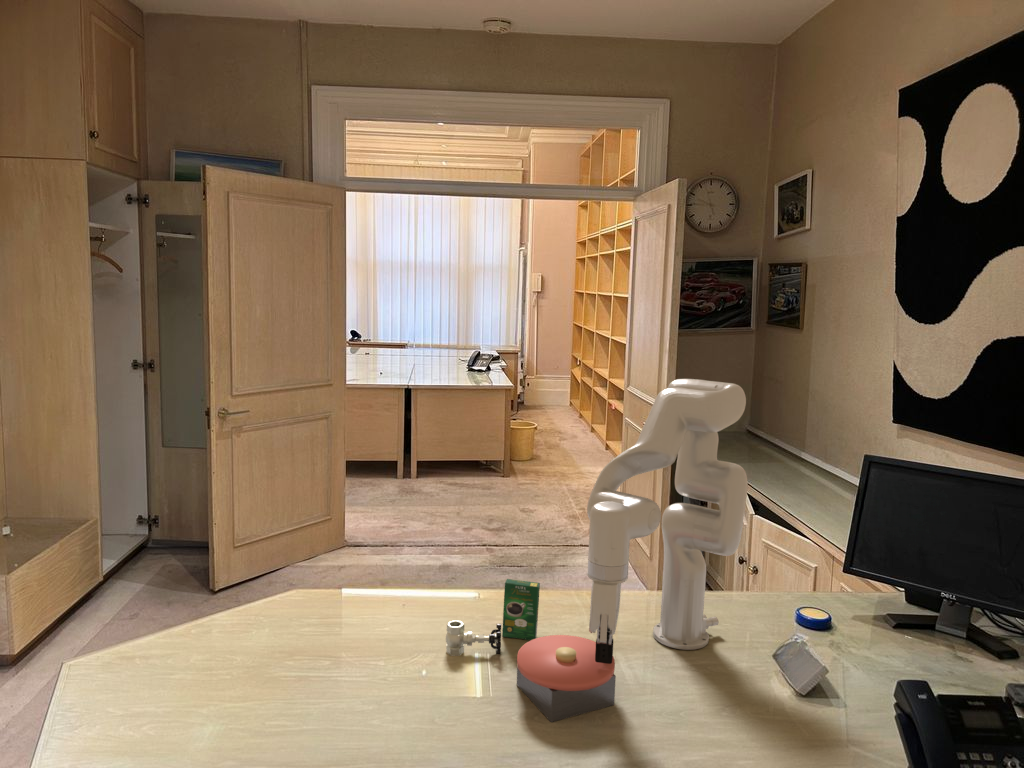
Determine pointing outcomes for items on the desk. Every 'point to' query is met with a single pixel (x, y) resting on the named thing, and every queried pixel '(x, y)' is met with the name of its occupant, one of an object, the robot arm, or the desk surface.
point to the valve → (468, 638)
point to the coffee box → (520, 609)
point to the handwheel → (563, 663)
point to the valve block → (567, 698)
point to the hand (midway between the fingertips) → (603, 660)
